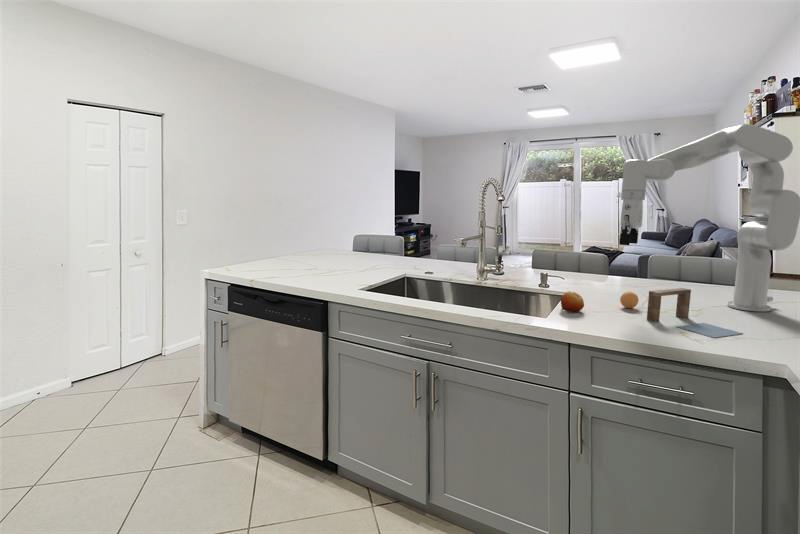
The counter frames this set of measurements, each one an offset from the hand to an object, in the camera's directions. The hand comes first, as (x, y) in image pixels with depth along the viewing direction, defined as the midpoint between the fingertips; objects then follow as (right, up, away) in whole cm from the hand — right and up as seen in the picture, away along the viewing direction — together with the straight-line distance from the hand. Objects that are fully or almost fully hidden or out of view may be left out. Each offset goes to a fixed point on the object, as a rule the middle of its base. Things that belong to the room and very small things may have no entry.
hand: (628, 244), depth 160 cm
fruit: (-21, -24, -1) cm, 32 cm away
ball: (+2, -20, +3) cm, 21 cm away
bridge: (+7, -26, -11) cm, 29 cm away
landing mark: (+12, -27, -24) cm, 38 cm away
